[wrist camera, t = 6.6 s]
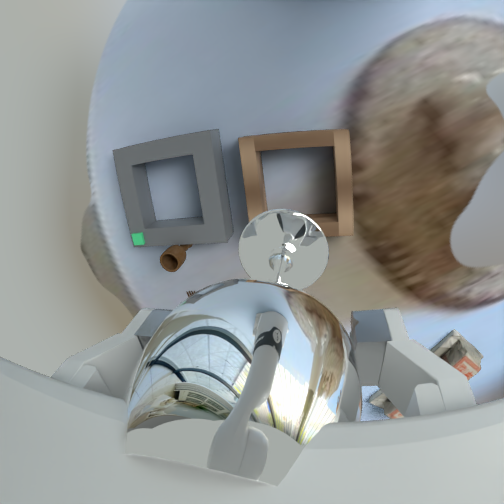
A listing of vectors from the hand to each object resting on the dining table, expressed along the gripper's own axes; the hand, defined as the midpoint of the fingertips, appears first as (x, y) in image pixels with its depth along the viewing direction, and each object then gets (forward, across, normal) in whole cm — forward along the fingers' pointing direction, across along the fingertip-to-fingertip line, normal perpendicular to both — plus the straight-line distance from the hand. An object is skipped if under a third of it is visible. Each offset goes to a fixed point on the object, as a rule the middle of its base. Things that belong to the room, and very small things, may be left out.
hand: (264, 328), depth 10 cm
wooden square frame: (+25, 0, 0) cm, 25 cm away
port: (+25, +14, 0) cm, 28 cm away
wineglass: (+6, 0, 0) cm, 6 cm away
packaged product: (+25, -19, +31) cm, 44 cm away
